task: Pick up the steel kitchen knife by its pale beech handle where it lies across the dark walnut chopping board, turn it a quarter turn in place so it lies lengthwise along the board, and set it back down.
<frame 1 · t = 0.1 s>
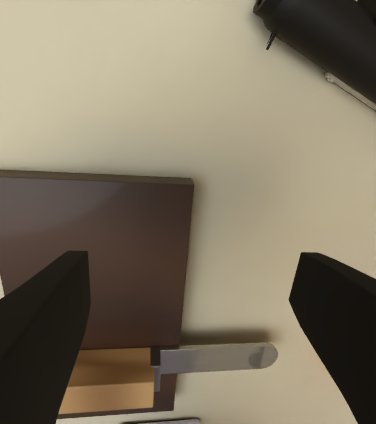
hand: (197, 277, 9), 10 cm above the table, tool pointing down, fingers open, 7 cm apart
board: (102, 306, 22), on the table
knife: (208, 356, 23), point 1 cm above the table, touching board
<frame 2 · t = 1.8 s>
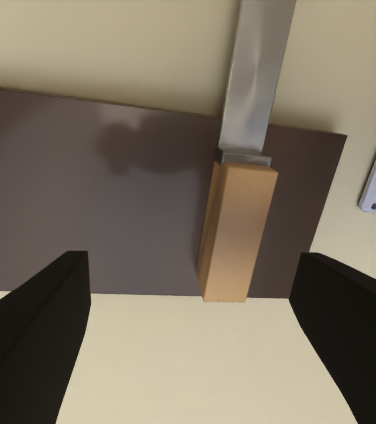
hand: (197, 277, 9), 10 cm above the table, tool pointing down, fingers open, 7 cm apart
board: (160, 206, 19), on the table
knife: (253, 71, 15), point 1 cm above the table, touching board
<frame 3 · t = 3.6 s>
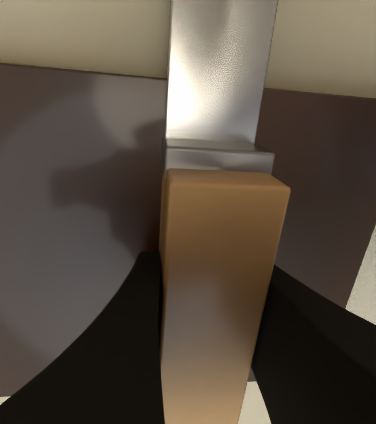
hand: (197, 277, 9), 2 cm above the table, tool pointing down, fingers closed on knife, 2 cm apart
board: (85, 246, 11), on the table
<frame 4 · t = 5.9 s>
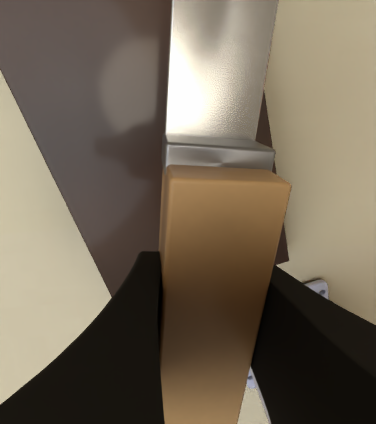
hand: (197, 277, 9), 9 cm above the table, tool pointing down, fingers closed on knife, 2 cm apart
board: (156, 129, 16), on the table
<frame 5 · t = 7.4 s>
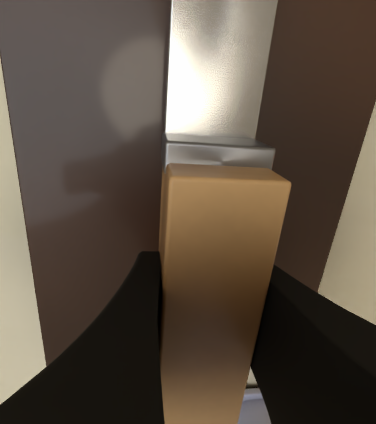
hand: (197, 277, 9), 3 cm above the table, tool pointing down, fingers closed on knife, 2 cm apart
board: (194, 142, 11), on the table
when the fingers open (2 cm above the table, at t = 8.1 s): knife stays where it is, resting on board.
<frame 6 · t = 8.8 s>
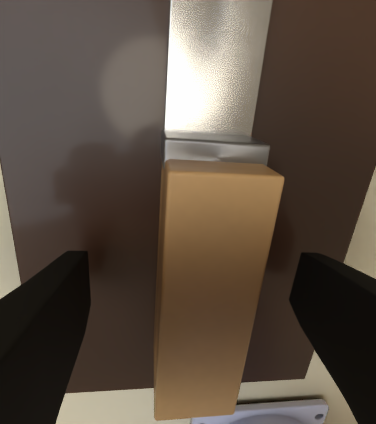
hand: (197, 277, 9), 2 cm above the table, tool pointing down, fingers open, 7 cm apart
board: (197, 145, 10), on the table
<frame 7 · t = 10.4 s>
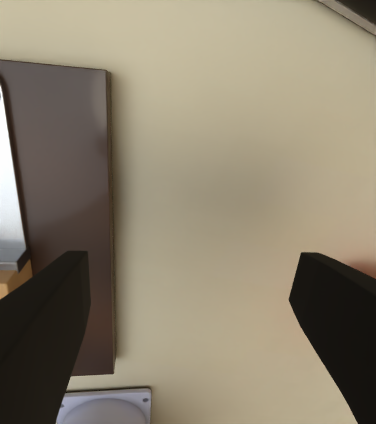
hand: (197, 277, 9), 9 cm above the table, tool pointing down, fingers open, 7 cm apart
board: (18, 242, 18), on the table
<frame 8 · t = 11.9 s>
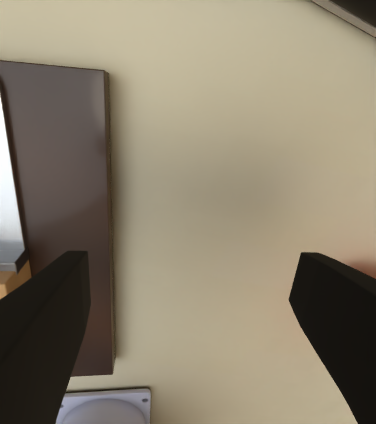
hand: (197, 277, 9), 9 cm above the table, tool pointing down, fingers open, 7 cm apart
board: (17, 243, 18), on the table
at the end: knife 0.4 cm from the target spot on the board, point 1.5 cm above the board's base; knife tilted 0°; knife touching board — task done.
